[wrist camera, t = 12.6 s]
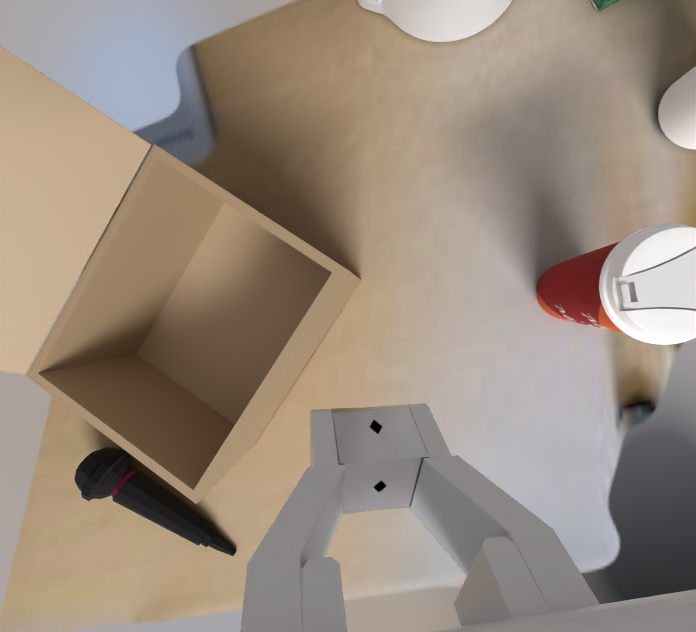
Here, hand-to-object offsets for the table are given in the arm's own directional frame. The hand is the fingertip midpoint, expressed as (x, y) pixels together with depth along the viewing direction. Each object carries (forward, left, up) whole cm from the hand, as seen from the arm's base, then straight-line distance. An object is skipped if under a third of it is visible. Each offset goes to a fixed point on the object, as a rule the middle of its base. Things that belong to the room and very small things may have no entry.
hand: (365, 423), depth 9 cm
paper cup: (-1, +18, -28) cm, 34 cm away
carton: (-5, -16, -28) cm, 33 cm away
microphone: (+15, -30, -29) cm, 44 cm away
